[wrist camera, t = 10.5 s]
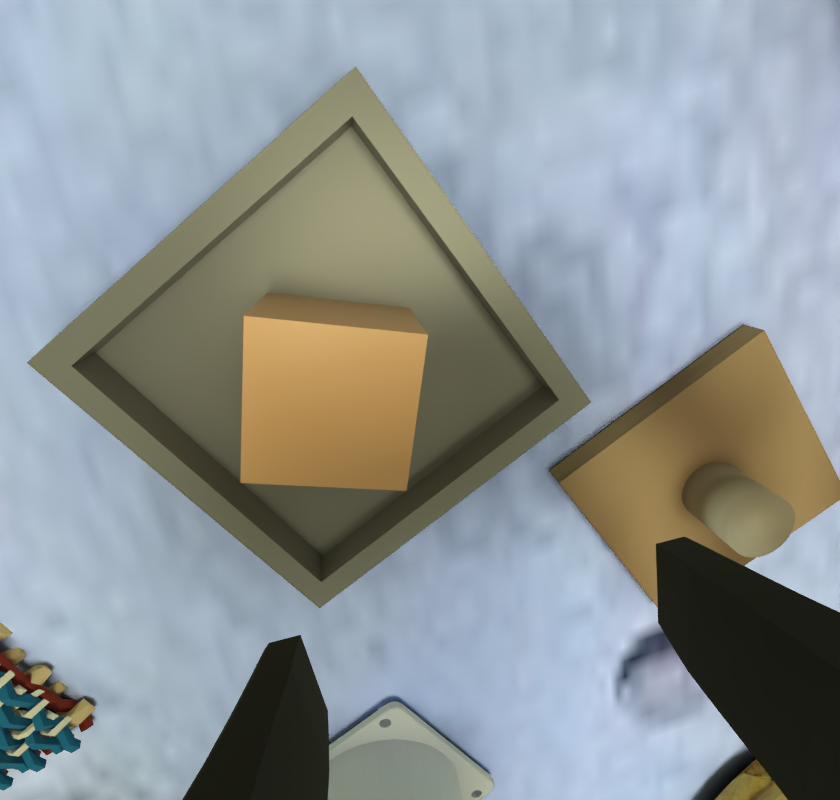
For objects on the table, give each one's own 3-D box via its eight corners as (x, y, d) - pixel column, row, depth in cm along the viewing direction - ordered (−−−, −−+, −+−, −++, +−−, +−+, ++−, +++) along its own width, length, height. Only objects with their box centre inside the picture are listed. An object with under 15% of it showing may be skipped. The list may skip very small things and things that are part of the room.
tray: (321, 574, 20) (319, 608, 18) (62, 346, 16) (27, 362, 14) (567, 384, 19) (591, 402, 17) (354, 84, 15) (355, 66, 13)
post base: (653, 602, 23) (707, 670, 20) (548, 470, 20) (591, 523, 17) (825, 483, 22) (914, 532, 19) (743, 324, 19) (832, 348, 16)
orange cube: (263, 425, 17) (240, 483, 14) (267, 292, 16) (243, 315, 12) (394, 434, 18) (406, 490, 14) (409, 308, 17) (428, 334, 13)
